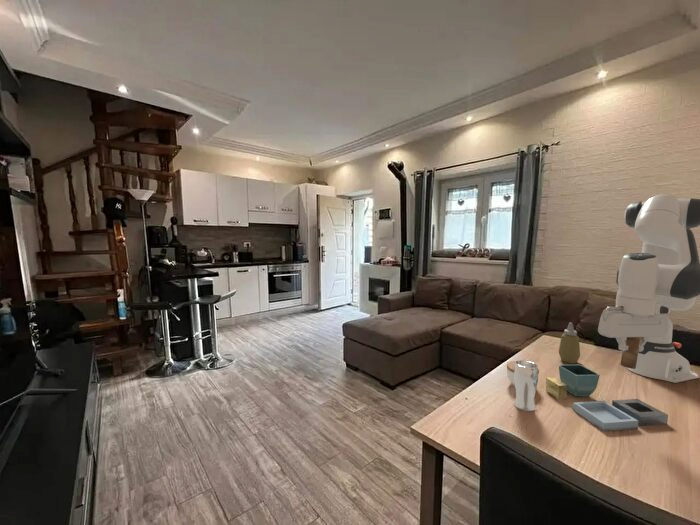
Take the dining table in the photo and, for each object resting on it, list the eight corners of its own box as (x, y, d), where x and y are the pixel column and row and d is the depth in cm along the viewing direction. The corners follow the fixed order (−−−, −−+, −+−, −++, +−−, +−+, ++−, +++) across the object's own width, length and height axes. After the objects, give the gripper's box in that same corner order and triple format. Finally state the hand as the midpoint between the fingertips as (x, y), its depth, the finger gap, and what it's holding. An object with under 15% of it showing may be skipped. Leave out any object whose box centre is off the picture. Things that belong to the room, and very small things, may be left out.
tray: (603, 407, 100) (603, 400, 99) (637, 428, 89) (638, 420, 89) (572, 409, 99) (573, 402, 99) (603, 431, 88) (604, 423, 88)
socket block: (636, 407, 100) (637, 398, 99) (667, 424, 91) (668, 414, 90) (611, 409, 99) (612, 400, 99) (640, 426, 90) (641, 416, 90)
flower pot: (578, 386, 114) (580, 364, 113) (599, 399, 105) (600, 374, 104) (556, 387, 113) (557, 364, 112) (575, 400, 104) (576, 375, 104)
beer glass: (533, 402, 103) (535, 361, 102) (539, 414, 97) (541, 369, 95) (511, 399, 106) (512, 358, 104) (515, 410, 99) (516, 366, 98)
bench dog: (553, 389, 111) (553, 377, 111) (566, 398, 106) (566, 385, 105) (545, 390, 111) (546, 377, 111) (558, 399, 105) (558, 385, 105)
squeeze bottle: (577, 359, 138) (579, 321, 137) (582, 366, 131) (584, 326, 130) (556, 356, 142) (558, 319, 140) (560, 363, 134) (562, 324, 133)
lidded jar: (538, 396, 107) (539, 371, 106) (504, 388, 113) (505, 364, 112) (538, 383, 116) (539, 360, 116) (507, 377, 122) (508, 355, 121)
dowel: (630, 364, 94) (635, 334, 93) (638, 369, 90) (643, 337, 89) (617, 363, 95) (622, 332, 94) (625, 367, 91) (630, 336, 90)
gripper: (613, 309, 87) (609, 355, 88) (676, 308, 89) (671, 353, 90) (594, 304, 93) (590, 347, 94) (653, 303, 95) (648, 345, 96)
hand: (630, 350), depth 92 cm, fingers closed on dowel, 4 cm apart
